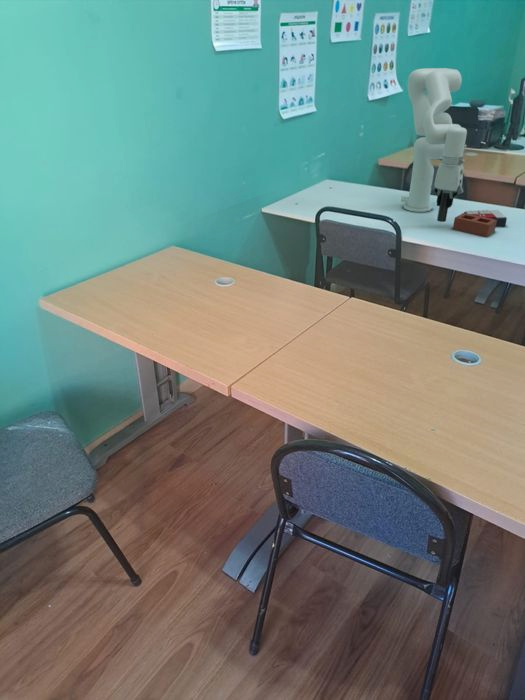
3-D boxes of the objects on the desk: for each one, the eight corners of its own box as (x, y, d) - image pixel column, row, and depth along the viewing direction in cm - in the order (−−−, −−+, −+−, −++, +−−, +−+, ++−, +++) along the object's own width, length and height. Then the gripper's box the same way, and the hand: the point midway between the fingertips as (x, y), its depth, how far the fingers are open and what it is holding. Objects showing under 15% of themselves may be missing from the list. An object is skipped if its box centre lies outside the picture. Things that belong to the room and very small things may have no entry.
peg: (435, 220, 219) (440, 192, 213) (439, 218, 221) (444, 190, 215) (443, 222, 217) (448, 193, 211) (447, 220, 219) (452, 191, 213)
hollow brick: (452, 229, 217) (454, 217, 215) (460, 224, 222) (463, 213, 220) (486, 237, 209) (489, 225, 206) (494, 231, 214) (497, 220, 211)
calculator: (464, 210, 228) (499, 208, 226) (462, 219, 230) (497, 218, 228) (470, 217, 218) (507, 216, 217) (469, 227, 220) (505, 226, 219)
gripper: (475, 162, 204) (466, 208, 213) (436, 156, 213) (429, 201, 223) (468, 165, 199) (458, 212, 209) (428, 159, 209) (421, 204, 218)
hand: (443, 205), depth 216 cm, fingers closed on peg, 3 cm apart
